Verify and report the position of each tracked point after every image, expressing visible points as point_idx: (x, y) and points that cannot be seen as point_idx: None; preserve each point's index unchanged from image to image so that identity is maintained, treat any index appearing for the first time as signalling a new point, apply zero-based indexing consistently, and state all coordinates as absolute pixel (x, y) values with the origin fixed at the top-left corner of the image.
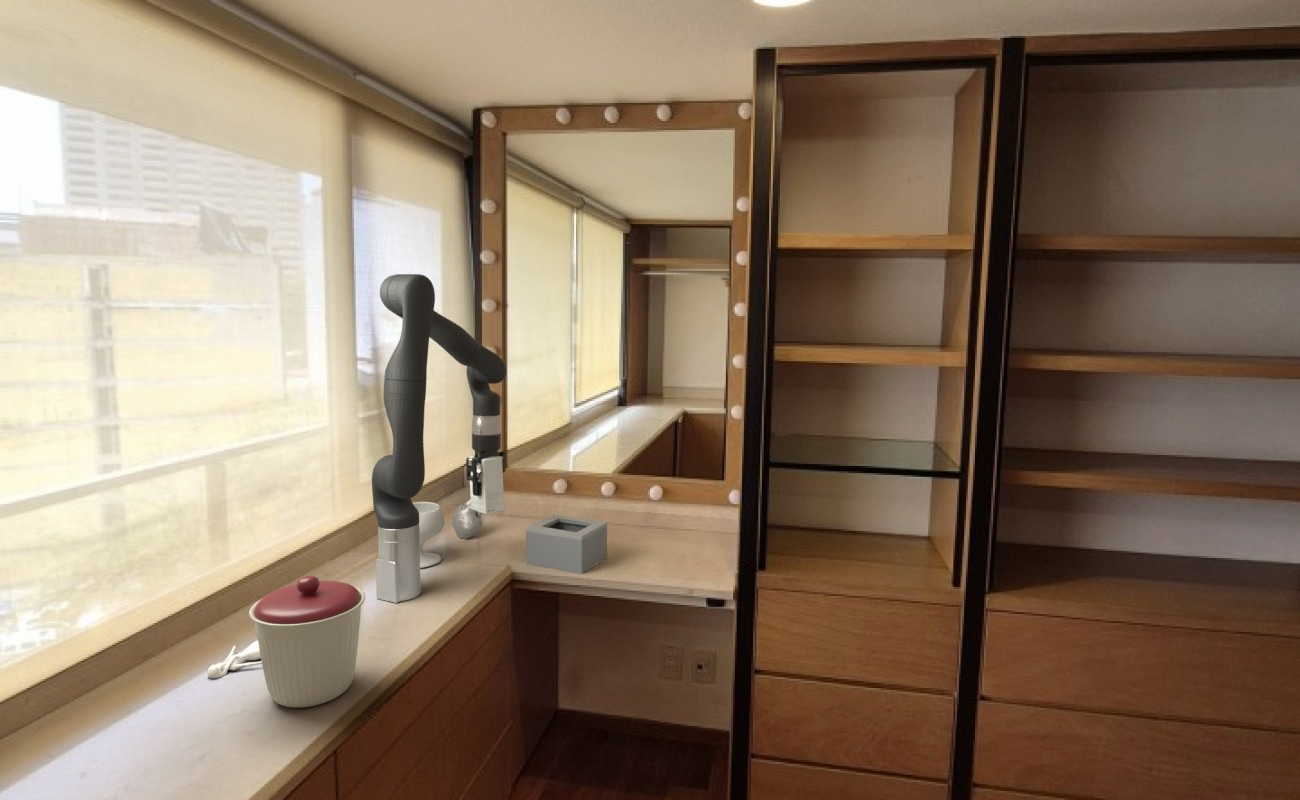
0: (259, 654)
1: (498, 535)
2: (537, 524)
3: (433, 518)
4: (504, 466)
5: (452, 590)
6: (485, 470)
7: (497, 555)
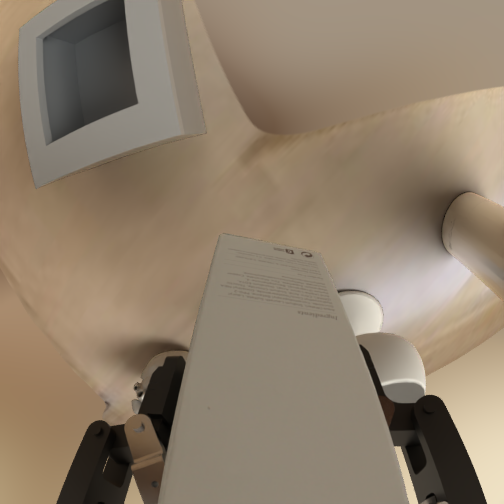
0: None
1: (131, 323)
2: (128, 134)
3: (387, 362)
4: (84, 450)
5: (424, 157)
6: (391, 462)
7: (211, 235)
